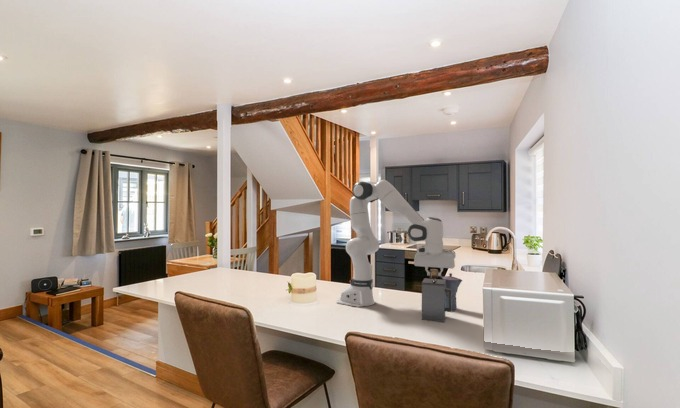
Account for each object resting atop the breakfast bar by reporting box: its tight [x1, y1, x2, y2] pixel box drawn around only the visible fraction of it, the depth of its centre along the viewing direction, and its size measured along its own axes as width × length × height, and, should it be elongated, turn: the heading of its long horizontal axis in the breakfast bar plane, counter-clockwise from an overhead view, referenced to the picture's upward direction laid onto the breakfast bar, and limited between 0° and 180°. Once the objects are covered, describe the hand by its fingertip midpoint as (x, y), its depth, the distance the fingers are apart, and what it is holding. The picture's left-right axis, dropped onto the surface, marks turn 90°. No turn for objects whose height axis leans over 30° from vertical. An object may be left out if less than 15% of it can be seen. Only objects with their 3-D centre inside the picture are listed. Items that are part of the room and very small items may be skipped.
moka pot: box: [435, 272, 463, 312], centre depth 198 cm, size 10×15×20 cm, turn 78°
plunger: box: [429, 268, 439, 282], centre depth 181 cm, size 8×8×23 cm
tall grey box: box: [421, 277, 452, 323], centre depth 181 cm, size 14×11×19 cm
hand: (434, 275), depth 181 cm, fingers closed on plunger, 4 cm apart
